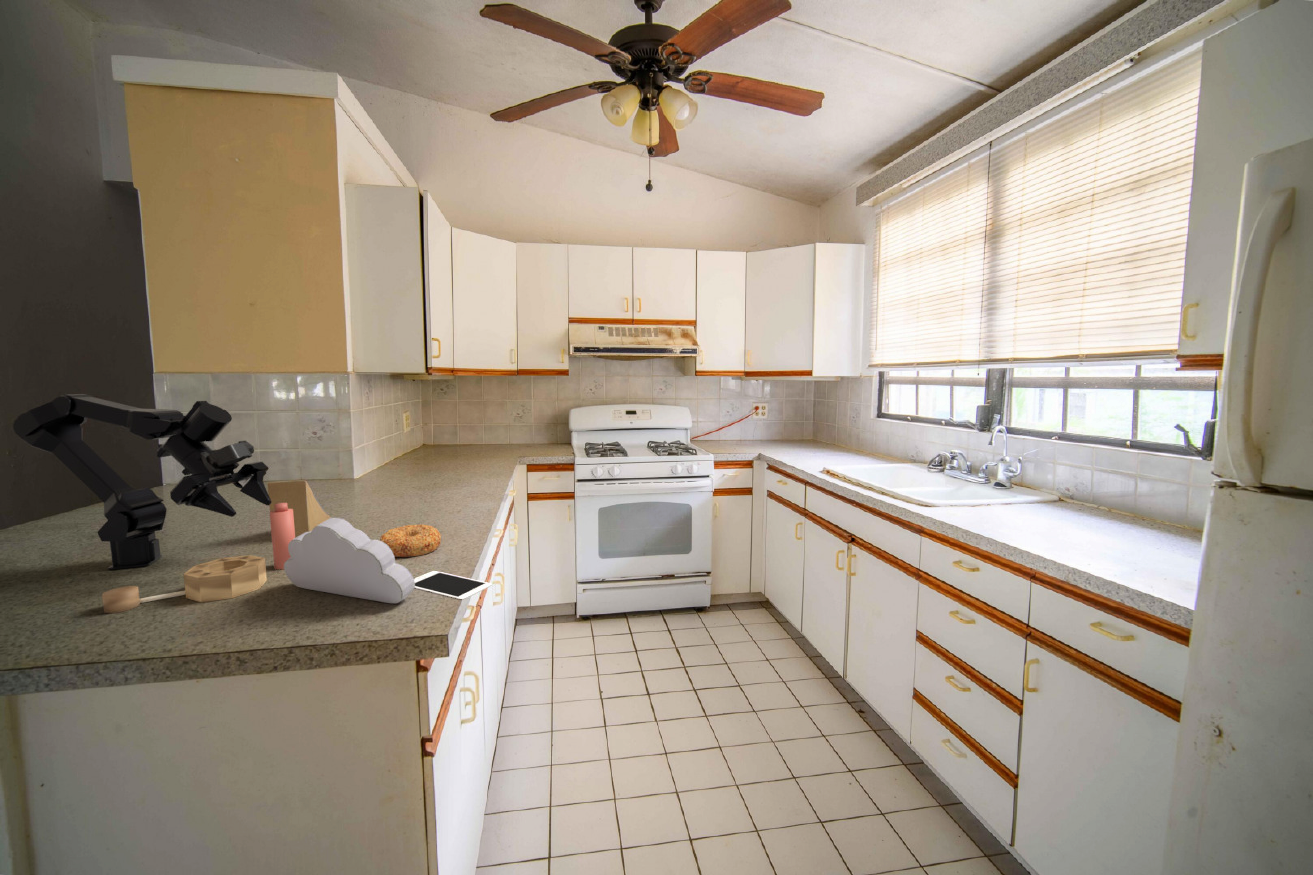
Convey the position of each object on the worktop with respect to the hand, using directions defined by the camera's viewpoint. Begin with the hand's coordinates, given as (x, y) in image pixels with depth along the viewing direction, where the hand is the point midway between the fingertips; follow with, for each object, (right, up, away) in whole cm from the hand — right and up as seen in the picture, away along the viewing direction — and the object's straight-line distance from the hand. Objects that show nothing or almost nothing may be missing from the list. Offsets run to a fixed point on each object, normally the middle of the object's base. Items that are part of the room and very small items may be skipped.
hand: (253, 509), depth 110 cm
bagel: (+27, -11, +12) cm, 32 cm away
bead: (+3, -14, -11) cm, 18 cm away
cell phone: (+44, -14, -8) cm, 47 cm away
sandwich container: (-7, -10, +26) cm, 29 cm away
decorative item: (+28, -14, -13) cm, 34 cm away
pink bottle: (+6, -12, +1) cm, 14 cm away
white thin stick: (-4, -14, -15) cm, 21 cm away
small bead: (-8, -14, -19) cm, 25 cm away
